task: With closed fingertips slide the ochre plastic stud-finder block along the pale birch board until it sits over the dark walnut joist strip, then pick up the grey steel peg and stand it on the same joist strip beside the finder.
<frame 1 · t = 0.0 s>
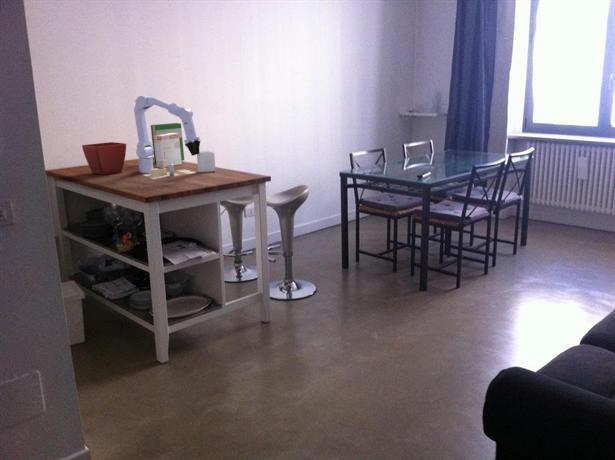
hand: (195, 154, 336), 11 cm above the table, tool pointing down, fingers open, 4 cm apart
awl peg: (172, 175, 332), point 1 cm above the table, touching subfloor board
coffeecake box: (169, 165, 375), on the table
white rounded block: (207, 172, 344), on the table, touching gripper
stud finder: (158, 175, 335), point 1 cm above the table, touching subfloor board
plant pot: (107, 173, 356), on the table
subfloor board: (169, 175, 337), on the table
green white carton: (169, 161, 393), on the table
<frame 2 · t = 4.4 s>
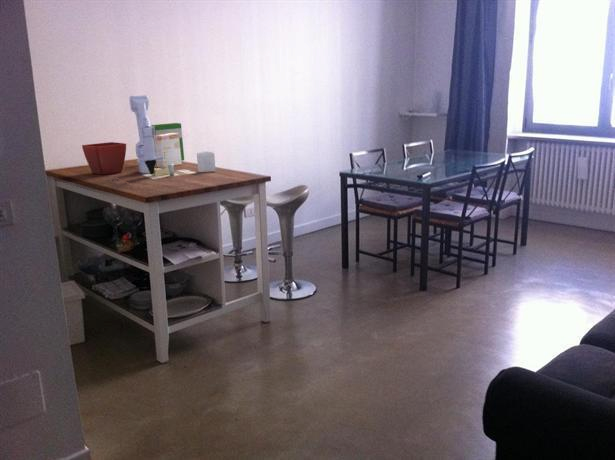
hand: (151, 174, 332), 2 cm above the table, tool pointing down, fingers closed
white rounded block: (207, 172, 344), on the table
stud finder: (161, 174, 335), point 1 cm above the table, touching subfloor board
everything else where it was.
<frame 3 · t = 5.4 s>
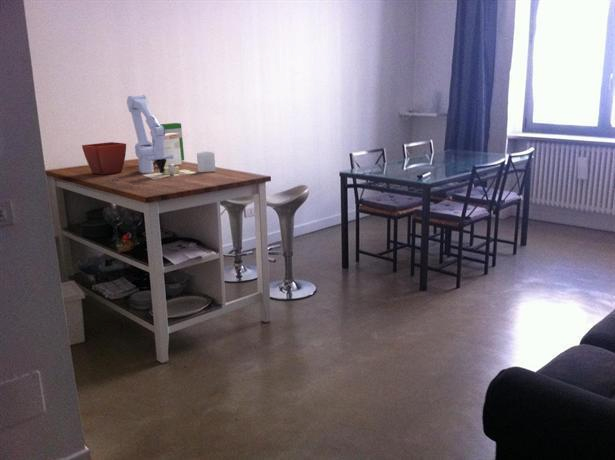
hand: (161, 172, 335), 2 cm above the table, tool pointing down, fingers closed
stud finder: (171, 173, 339), point 1 cm above the table, touching gripper
everything else where it was.
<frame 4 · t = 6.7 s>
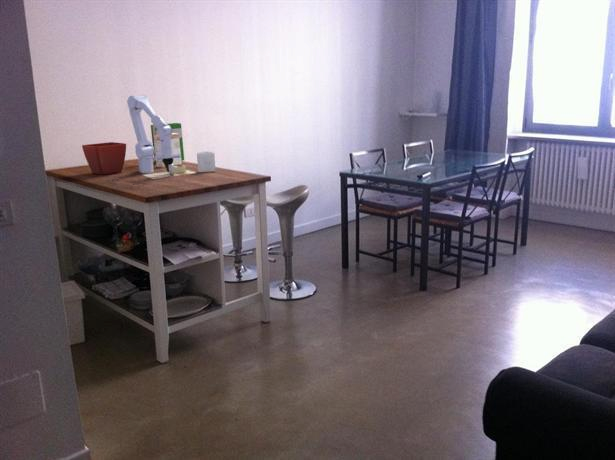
hand: (168, 171, 338), 2 cm above the table, tool pointing down, fingers closed
stud finder: (177, 172, 341), point 1 cm above the table, touching gripper, subfloor board
everything else where it was.
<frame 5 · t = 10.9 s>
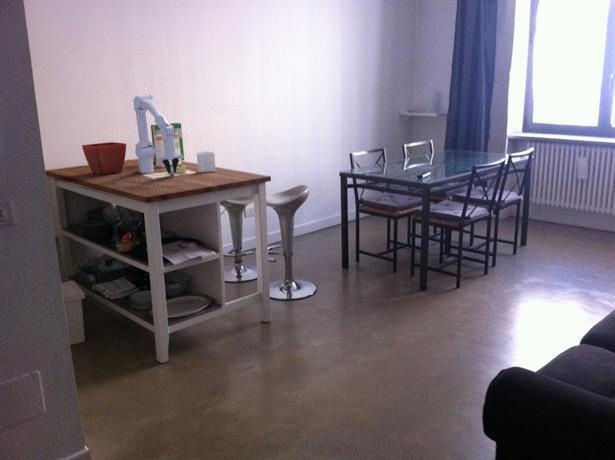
hand: (171, 172, 331), 2 cm above the table, tool pointing down, fingers closed on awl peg, 3 cm apart
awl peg: (172, 175, 332), point 1 cm above the table, touching gripper, subfloor board
stud finder: (178, 172, 341), point 1 cm above the table, touching subfloor board
everything else where it was.
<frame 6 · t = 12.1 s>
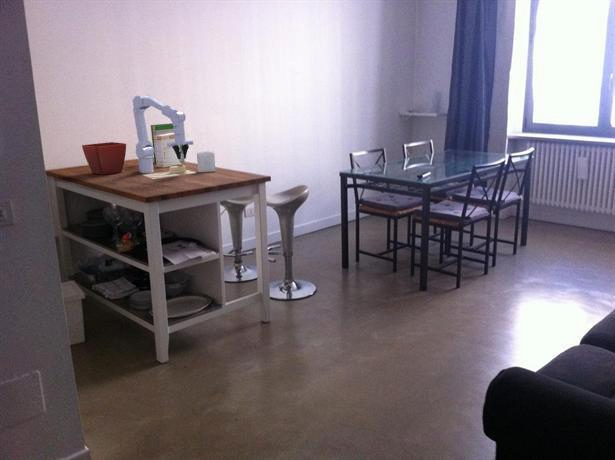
hand: (181, 158, 333), 9 cm above the table, tool pointing down, fingers closed on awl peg, 3 cm apart
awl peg: (182, 162, 333), point 7 cm above the table, touching gripper
everything else where it was.
when the fingers open (3 cm above the table, at t = 13.4 s): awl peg stays where it is, resting on subfloor board.
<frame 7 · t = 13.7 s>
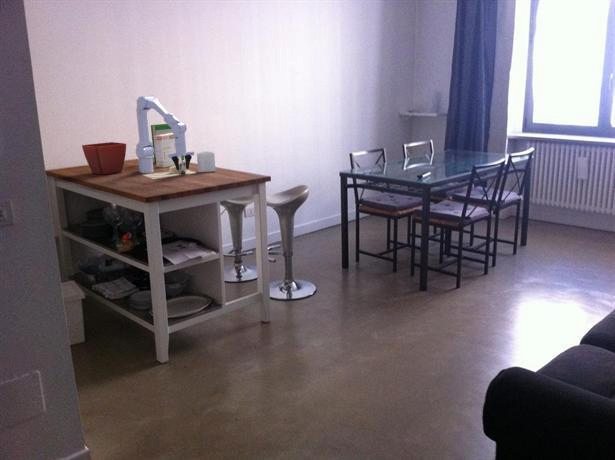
hand: (182, 169, 335), 3 cm above the table, tool pointing down, fingers open, 5 cm apart
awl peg: (183, 173, 335), point 1 cm above the table, touching subfloor board
everything else where it was.
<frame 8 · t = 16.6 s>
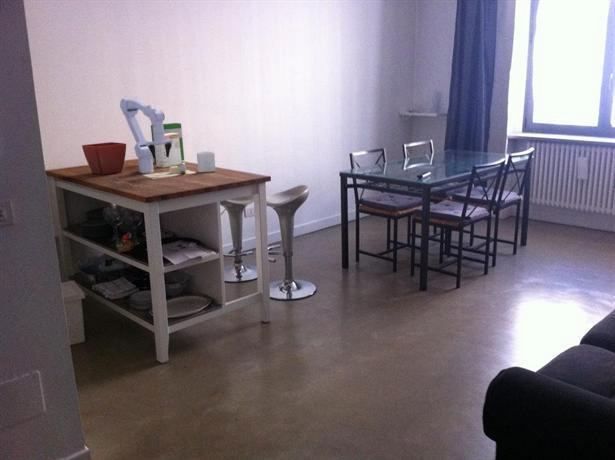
hand: (161, 157, 336), 10 cm above the table, tool pointing down, fingers open, 7 cm apart
nothing on the table moved.
at the end: stud finder inside the target area (0.5 cm from its centre), point 0.8 cm above the table; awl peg 0.3 cm from the target spot, point 0.8 cm above the table; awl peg tilted 0° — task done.
